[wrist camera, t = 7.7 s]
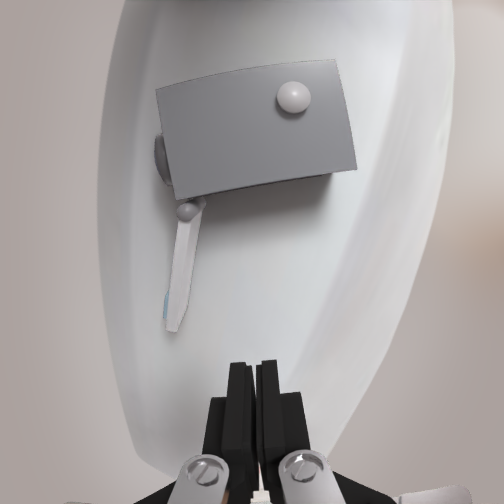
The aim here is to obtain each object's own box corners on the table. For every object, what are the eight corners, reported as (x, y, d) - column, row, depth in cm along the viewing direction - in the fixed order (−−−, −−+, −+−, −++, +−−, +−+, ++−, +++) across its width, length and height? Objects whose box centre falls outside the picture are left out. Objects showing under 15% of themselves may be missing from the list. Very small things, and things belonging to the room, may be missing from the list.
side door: (207, 197, 28) (195, 205, 22) (190, 305, 31) (177, 335, 26) (188, 193, 28) (172, 201, 22) (173, 301, 31) (157, 330, 25)
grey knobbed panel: (162, 109, 26) (133, 93, 19) (317, 81, 26) (338, 56, 18) (179, 196, 29) (154, 208, 22) (334, 169, 28) (361, 171, 21)
